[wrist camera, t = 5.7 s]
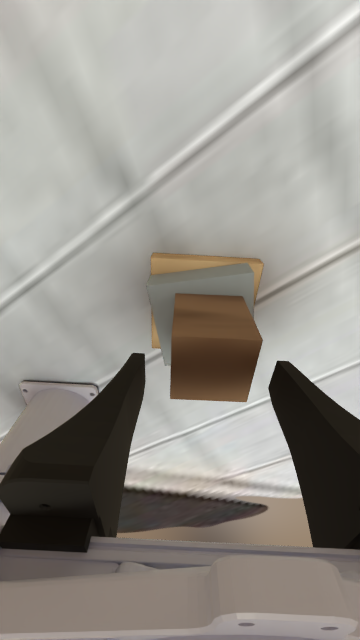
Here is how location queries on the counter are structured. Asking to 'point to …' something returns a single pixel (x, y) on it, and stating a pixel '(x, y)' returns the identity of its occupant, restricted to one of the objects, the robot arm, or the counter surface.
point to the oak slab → (191, 262)
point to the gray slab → (195, 282)
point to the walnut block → (213, 348)
